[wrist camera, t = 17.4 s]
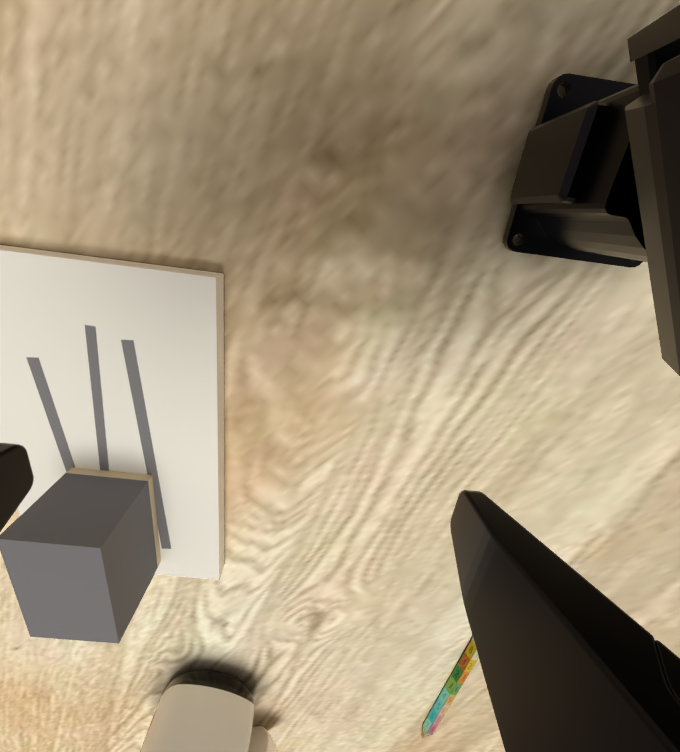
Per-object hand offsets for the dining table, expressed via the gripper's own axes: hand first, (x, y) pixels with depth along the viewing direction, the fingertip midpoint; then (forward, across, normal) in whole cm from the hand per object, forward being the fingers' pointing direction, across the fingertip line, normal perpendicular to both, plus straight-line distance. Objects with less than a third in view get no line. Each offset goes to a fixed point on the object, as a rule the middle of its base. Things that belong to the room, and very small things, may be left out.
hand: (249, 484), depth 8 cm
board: (+12, +10, +8) cm, 18 cm away
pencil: (+13, -16, +30) cm, 36 cm away
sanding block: (+11, +10, +13) cm, 20 cm away
